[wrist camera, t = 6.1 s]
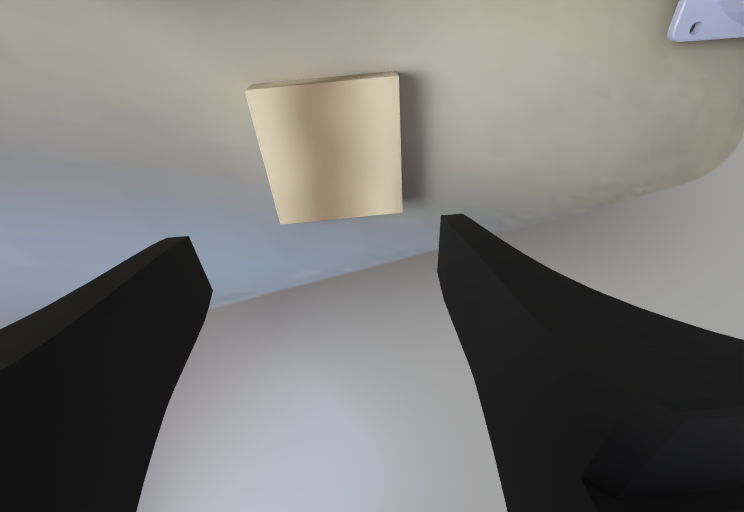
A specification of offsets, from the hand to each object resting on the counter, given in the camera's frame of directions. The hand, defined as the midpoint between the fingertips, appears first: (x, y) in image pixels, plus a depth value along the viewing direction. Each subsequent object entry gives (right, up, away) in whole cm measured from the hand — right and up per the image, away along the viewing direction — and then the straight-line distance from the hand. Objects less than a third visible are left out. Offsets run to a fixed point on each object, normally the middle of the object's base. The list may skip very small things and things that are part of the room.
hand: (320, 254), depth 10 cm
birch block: (-1, +6, +9) cm, 11 cm away
